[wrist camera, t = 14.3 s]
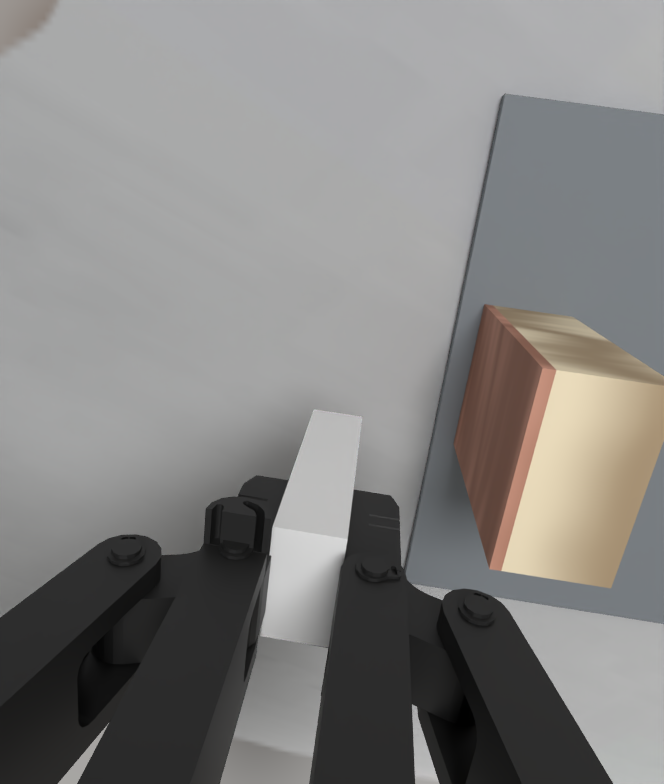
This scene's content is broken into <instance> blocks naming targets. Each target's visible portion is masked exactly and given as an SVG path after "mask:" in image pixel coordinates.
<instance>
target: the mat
mask: <svg viewBox="0 0 664 784" xmlns="http://www.w3.org/2000/svg"><path fill="white" fill-rule="evenodd" d="M484 304H487V305H494V306H501V307H508V308H515V309H522V310H529V311H536V312H542V313H549V314H556V315H563V316H570V317H574V318H575V319H577V320H578V321H580V322H582V323H583V324H585V325H586V326H588V327H589V328H591V329H592V330H594V331H595V332H597V333H598V334H600V335H601V336H603V337H604V338H606V339H607V340H609V341H611V342H612V343H614V344H615V345H617V346H618V347H620V348H621V349H623V350H624V351H626V352H627V353H629V354H630V355H632V356H633V357H635V358H637V359H638V360H640V361H641V362H643V363H644V364H646V365H647V366H649V367H650V368H652V369H653V370H655V371H656V372H658V373H659V374H661V375H663V376H664V114H656V113H648V112H641V111H633V110H625V109H618V108H610V107H602V106H595V105H587V104H579V103H572V102H564V101H557V100H549V99H541V98H534V97H526V96H518V95H511V94H504V95H503V96H502V100H501V105H500V110H499V115H498V119H497V124H496V129H495V134H494V139H493V144H492V149H491V153H490V158H489V163H488V168H487V173H486V178H485V183H484V187H483V192H482V197H481V202H480V207H479V212H478V216H477V221H476V226H475V231H474V236H473V241H472V246H471V250H470V255H469V260H468V265H467V270H466V275H465V280H464V284H463V289H462V294H461V299H460V304H459V309H458V313H457V318H456V323H455V328H454V333H453V338H452V343H451V347H450V352H449V357H448V362H447V367H446V372H445V377H444V381H443V386H442V391H441V396H440V401H439V406H438V410H437V415H436V420H435V425H434V430H433V435H432V440H431V444H430V449H429V454H428V459H427V464H426V469H425V474H424V478H423V483H422V488H421V493H420V498H419V503H418V508H417V512H416V517H415V522H414V527H413V532H412V537H411V541H410V546H409V551H408V556H407V561H406V566H405V574H406V577H407V580H408V581H409V582H410V583H412V584H418V585H424V586H430V587H437V588H443V589H449V590H456V589H464V588H465V589H472V590H478V591H481V592H483V593H486V594H488V595H491V596H493V597H499V598H505V599H511V600H518V601H524V602H530V603H536V604H543V605H549V606H555V607H561V608H568V609H574V610H580V611H586V612H592V613H599V614H605V615H611V616H617V617H624V618H630V619H636V620H642V621H649V622H655V623H661V624H664V442H663V444H662V447H661V450H660V453H659V456H658V458H657V461H656V464H655V467H654V470H653V472H652V475H651V478H650V481H649V484H648V486H647V489H646V492H645V495H644V498H643V500H642V503H641V506H640V509H639V512H638V514H637V517H636V520H635V523H634V526H633V528H632V531H631V534H630V537H629V540H628V542H627V545H626V548H625V551H624V554H623V556H622V559H621V562H620V565H619V568H618V570H617V573H616V576H615V579H614V582H613V584H612V587H611V588H605V587H599V586H593V585H587V584H580V583H574V582H568V581H561V580H555V579H549V578H542V577H536V576H530V575H524V574H517V573H511V572H505V571H498V570H492V569H489V567H488V563H487V560H486V556H485V553H484V549H483V546H482V542H481V539H480V535H479V532H478V528H477V525H476V521H475V518H474V514H473V511H472V507H471V504H470V500H469V496H468V493H467V489H466V486H465V482H464V479H463V475H462V472H461V468H460V465H459V461H458V458H457V454H456V451H455V447H454V439H455V434H456V430H457V425H458V421H459V416H460V412H461V407H462V403H463V398H464V394H465V389H466V385H467V380H468V376H469V371H470V367H471V362H472V358H473V353H474V349H475V344H476V339H477V335H478V330H479V326H480V321H481V317H482V312H483V308H484Z"/></svg>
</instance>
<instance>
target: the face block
mask: <svg viewBox="0 0 664 784" xmlns="http://www.w3.org/2000/svg"><path fill="white" fill-rule="evenodd" d="M663 442H664V376H663V375H661V374H659V373H658V372H656V371H655V370H653V369H652V368H650V367H649V366H647V365H646V364H644V363H643V362H641V361H640V360H638V359H637V358H635V357H633V356H632V355H630V354H629V353H627V352H626V351H624V350H623V349H621V348H620V347H618V346H617V345H615V344H614V343H612V342H611V341H609V340H607V339H606V338H604V337H603V336H601V335H600V334H598V333H597V332H595V331H594V330H592V329H591V328H589V327H588V326H586V325H585V324H583V323H582V322H580V321H578V320H577V319H575V318H574V317H570V316H563V315H556V314H549V313H542V312H536V311H529V310H522V309H515V308H508V307H501V306H494V305H487V304H484V308H483V312H482V317H481V321H480V326H479V330H478V335H477V339H476V344H475V349H474V353H473V358H472V362H471V367H470V371H469V376H468V380H467V385H466V389H465V394H464V398H463V403H462V407H461V412H460V416H459V421H458V425H457V430H456V434H455V439H454V447H455V451H456V454H457V458H458V461H459V465H460V468H461V472H462V475H463V479H464V482H465V486H466V489H467V493H468V496H469V500H470V504H471V507H472V511H473V514H474V518H475V521H476V525H477V528H478V532H479V535H480V539H481V542H482V546H483V549H484V553H485V556H486V560H487V563H488V567H489V569H492V570H498V571H505V572H511V573H517V574H524V575H530V576H536V577H542V578H549V579H555V580H561V581H568V582H574V583H580V584H587V585H593V586H599V587H605V588H611V587H612V584H613V582H614V579H615V576H616V573H617V570H618V568H619V565H620V562H621V559H622V556H623V554H624V551H625V548H626V545H627V542H628V540H629V537H630V534H631V531H632V528H633V526H634V523H635V520H636V517H637V514H638V512H639V509H640V506H641V503H642V500H643V498H644V495H645V492H646V489H647V486H648V484H649V481H650V478H651V475H652V472H653V470H654V467H655V464H656V461H657V458H658V456H659V453H660V450H661V447H662V444H663Z"/></svg>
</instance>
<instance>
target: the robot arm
mask: <svg viewBox="0 0 664 784" xmlns="http://www.w3.org/2000/svg"><path fill="white" fill-rule="evenodd" d="M361 424H362V417H360V416H354V415H348V414H341V413H335V412H328V411H322V410H316V409H314V410H313V413H312V416H311V419H310V421H309V424H308V427H307V430H306V433H305V436H304V439H303V441H302V444H301V447H300V450H299V453H298V456H297V458H296V461H295V464H294V467H293V470H292V473H291V476H290V478H289V481H288V480H282V479H276V478H270V477H263V476H257V475H256V476H255V477H253V478H252V479H250V480H249V481H247V482H246V483H244V484H243V486H242V488H241V490H240V492H239V494H238V496H237V497H228V498H221V499H219V500H217V501H214V502H212V503H211V504H210V505H209V506H208V507H207V508H206V515H205V531H204V544H203V546H202V548H201V549H200V551H197V552H193V553H189V554H180V555H161V547H160V546H159V545H158V543H157V542H156V541H154V540H152V539H150V538H149V537H146V536H140V535H120V536H116V537H112V538H109V539H107V540H105V541H103V542H101V543H99V544H98V545H96V546H95V547H94V548H92V549H91V550H90V551H88V552H87V553H86V554H84V555H83V556H82V557H80V558H79V559H78V560H76V561H75V562H74V563H72V564H71V565H70V566H68V567H67V568H66V569H64V570H63V571H62V572H60V573H59V574H58V575H56V576H55V577H54V578H52V579H51V580H50V581H48V582H47V583H46V584H44V585H43V586H42V587H40V588H39V589H38V590H36V591H35V592H34V593H33V594H31V595H30V596H29V597H27V598H26V599H25V600H23V601H22V602H21V603H19V604H18V605H17V606H15V607H14V608H13V609H11V610H10V611H9V612H7V613H6V614H5V615H3V616H2V617H1V618H0V784H58V782H59V781H60V780H61V779H62V778H63V776H64V775H65V774H66V773H67V772H68V770H69V769H70V768H71V767H72V766H73V765H74V763H75V762H76V761H77V760H78V759H79V758H80V756H81V755H82V754H83V753H84V752H85V750H86V749H87V748H88V747H89V746H90V744H91V743H92V742H93V741H94V740H95V739H96V737H97V736H98V735H99V734H100V733H101V731H102V730H103V729H104V728H105V727H106V725H107V724H108V723H109V724H108V726H107V728H106V730H105V732H104V734H103V736H102V738H101V740H100V741H99V743H98V745H97V747H96V749H95V751H94V753H93V755H92V757H91V759H90V760H89V762H88V764H87V766H86V768H85V770H84V772H83V774H82V776H81V778H80V779H79V781H78V783H77V784H220V780H221V777H222V773H223V770H224V766H225V763H226V759H227V756H228V752H229V749H230V745H231V742H232V738H233V735H234V731H235V728H236V724H237V721H238V717H239V714H240V710H241V707H242V703H243V700H244V696H245V693H246V689H247V686H248V682H249V679H250V675H251V672H252V668H253V665H254V661H255V658H256V652H257V643H258V635H259V632H260V628H261V625H262V628H261V636H263V637H269V638H274V639H280V640H286V641H292V642H297V643H303V644H309V645H314V646H320V647H326V648H328V654H327V661H326V667H325V673H324V679H323V685H322V692H321V703H320V710H319V717H318V725H317V732H316V739H315V746H314V753H313V761H312V768H311V775H310V783H309V784H415V772H414V747H413V723H412V704H413V705H415V706H417V709H418V718H419V721H420V724H421V727H422V730H423V733H424V736H425V740H426V743H427V746H428V749H429V752H430V755H431V758H432V761H433V765H434V768H435V771H436V774H437V777H438V780H439V783H440V784H613V783H612V781H611V779H610V778H609V776H608V774H607V773H606V771H605V769H604V768H603V766H602V764H601V763H600V761H599V759H598V758H597V756H596V754H595V753H594V751H593V749H592V748H591V746H590V744H589V743H588V741H587V740H586V738H585V736H584V735H583V733H582V731H581V730H580V728H579V726H578V725H577V723H576V721H575V720H574V718H573V716H572V715H571V713H570V711H569V710H568V708H567V706H566V705H565V703H564V701H563V700H562V698H561V697H560V695H559V693H558V692H557V690H556V688H555V687H554V685H553V683H552V682H551V680H550V678H549V677H548V675H547V673H546V672H545V670H544V668H543V667H542V665H541V663H540V662H539V660H538V658H537V657H536V655H535V654H534V652H533V650H532V649H531V647H530V645H529V644H528V642H527V640H526V639H525V637H524V635H523V634H522V632H521V630H520V629H519V627H518V625H517V624H516V622H515V620H514V619H513V617H512V615H511V614H510V612H509V611H508V610H507V609H506V607H505V606H504V605H503V604H502V603H501V602H500V601H498V600H497V599H495V598H494V597H492V596H491V595H488V594H486V593H483V592H481V591H478V590H472V589H465V588H464V589H456V590H452V591H451V592H449V593H447V594H446V595H445V597H444V599H443V600H440V599H438V598H435V597H433V596H430V595H428V594H426V593H424V592H422V591H420V590H418V589H417V588H416V587H414V586H413V585H412V584H411V583H410V582H409V581H408V580H407V577H406V574H405V571H404V569H403V568H402V566H401V549H400V521H399V520H400V517H399V506H398V505H397V504H396V502H395V501H394V499H393V498H392V497H391V496H390V495H383V494H377V493H371V492H365V491H359V490H354V482H355V474H356V466H357V457H358V449H359V441H360V433H361Z"/></svg>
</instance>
